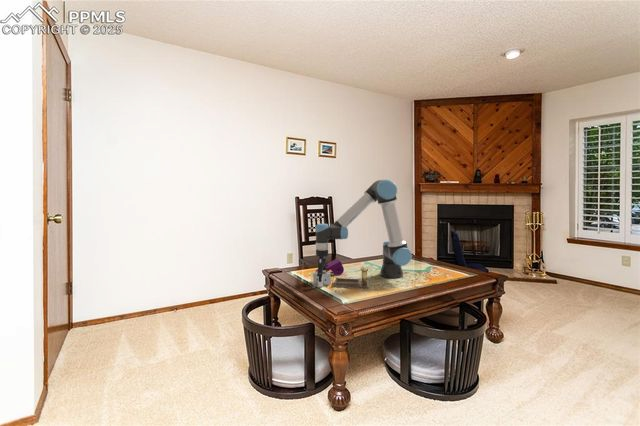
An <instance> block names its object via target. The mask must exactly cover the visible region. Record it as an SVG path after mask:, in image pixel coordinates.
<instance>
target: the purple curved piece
mask: <svg viewBox="0 0 640 426" xmlns="http://www.w3.org/2000/svg"><path fill="white" fill-rule="evenodd" d="M326 267H327V270H326V272H331V273H333V275H335V276H342V274H343V273H344V271H345V268H344V266H343V263H342V262H341V260H340V259H339V258H336V259H334V260H331V261H330V262H327V263H326ZM315 272H318V268H317V269H316V270H315Z"/></svg>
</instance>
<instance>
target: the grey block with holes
mask: <svg viewBox="0 0 640 426" xmlns="http://www.w3.org/2000/svg"><path fill="white" fill-rule="evenodd" d="M331 273H332V271H327V272H323V273H322V276H323V286H327V285H331V284H332V282H331V281H332V280H331V279H332V277H331V275H332V274H331ZM317 274H318V272H316V271H314V273H313V274H312V277H313V278H312V279H313V283H312V284H313V285H314V286H318V276H317Z"/></svg>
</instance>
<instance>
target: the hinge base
mask: <svg viewBox="0 0 640 426" xmlns="http://www.w3.org/2000/svg"><path fill="white" fill-rule="evenodd" d="M360 271H361V278H338V277H336V278H335V279H334V282H333V287H334V288H346V287H351V288H352V289H367V290H368V289H369V280H368V271H369V268H367V267H361V268H360ZM351 288H350V289H351Z"/></svg>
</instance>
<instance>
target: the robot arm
mask: <svg viewBox="0 0 640 426" xmlns="http://www.w3.org/2000/svg"><path fill="white" fill-rule="evenodd" d="M363 193H364V194H363V195H362V196H361V197H360V198H359V199H358V200H356V202H354V203H353V204H352V206H350V207H349V208H348V209H347V210H346V211H345V212H344V213H343V214H342V215H341V216H340V217H339V218H338V219H336V220H335V222H333V223H331V224H328V223H318V224H316V225H315V243H314V246H315V249H316V250H315V256H316V257H319V258H318V259H317V261H318V263H317V269H318V274H317V276H318V285H317V287H318V288H323V287H324V285H323V276H322V273H323V272H326V270H327V267H326V264H327V259H326V258H327V257H328V256H329V240H347V239H348V238H349V229H348V226H349V225H350V224H352V222H354V221H355V219H357V218H358V217H359V216H360V215H361V214H363V212H364V211H365V210H366V209H368V207H369V206H370V205H372V204H375V203H377V204H378V205H379V206H381V212H382V216H383V219H384V224H385V229H386V232H387V237H388V241H383V243H382V265H381V267H380V271H379V274H380V275H379V276H381V277H383V278H388V279H399V278H402V277H404V272H403V271H404V270H403V268H402V266H403V267H404V266H406V265H408V264H409V263H410V262H411V261H412V257H413V255H412V252H411V250H410V249H409V248H408V243H407V241H406V240H404V237H403V233H402V228H401V224H400V220H399V215H398V211H397V207H396V201H397V200H398V198H397V194H398V187H397V184H396V183H395V182H394V181H392V180H390V179H379V180H375V182H373V183H372V184H371V185H370V186H369V187H368V188H367V189H366V190H365V191H364V192H363Z"/></svg>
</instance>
